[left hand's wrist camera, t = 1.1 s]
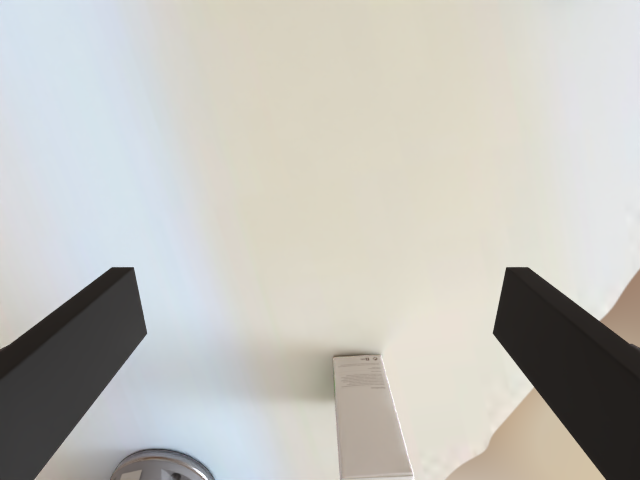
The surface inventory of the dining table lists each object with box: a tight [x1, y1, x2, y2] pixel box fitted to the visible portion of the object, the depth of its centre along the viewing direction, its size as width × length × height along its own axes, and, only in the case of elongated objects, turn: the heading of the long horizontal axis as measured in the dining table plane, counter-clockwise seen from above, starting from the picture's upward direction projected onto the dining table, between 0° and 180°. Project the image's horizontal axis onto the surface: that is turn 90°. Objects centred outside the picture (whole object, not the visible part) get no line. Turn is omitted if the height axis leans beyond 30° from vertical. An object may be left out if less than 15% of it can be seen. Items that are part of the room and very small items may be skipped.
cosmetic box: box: [333, 355, 414, 480], centre depth 38 cm, size 8×7×16 cm
